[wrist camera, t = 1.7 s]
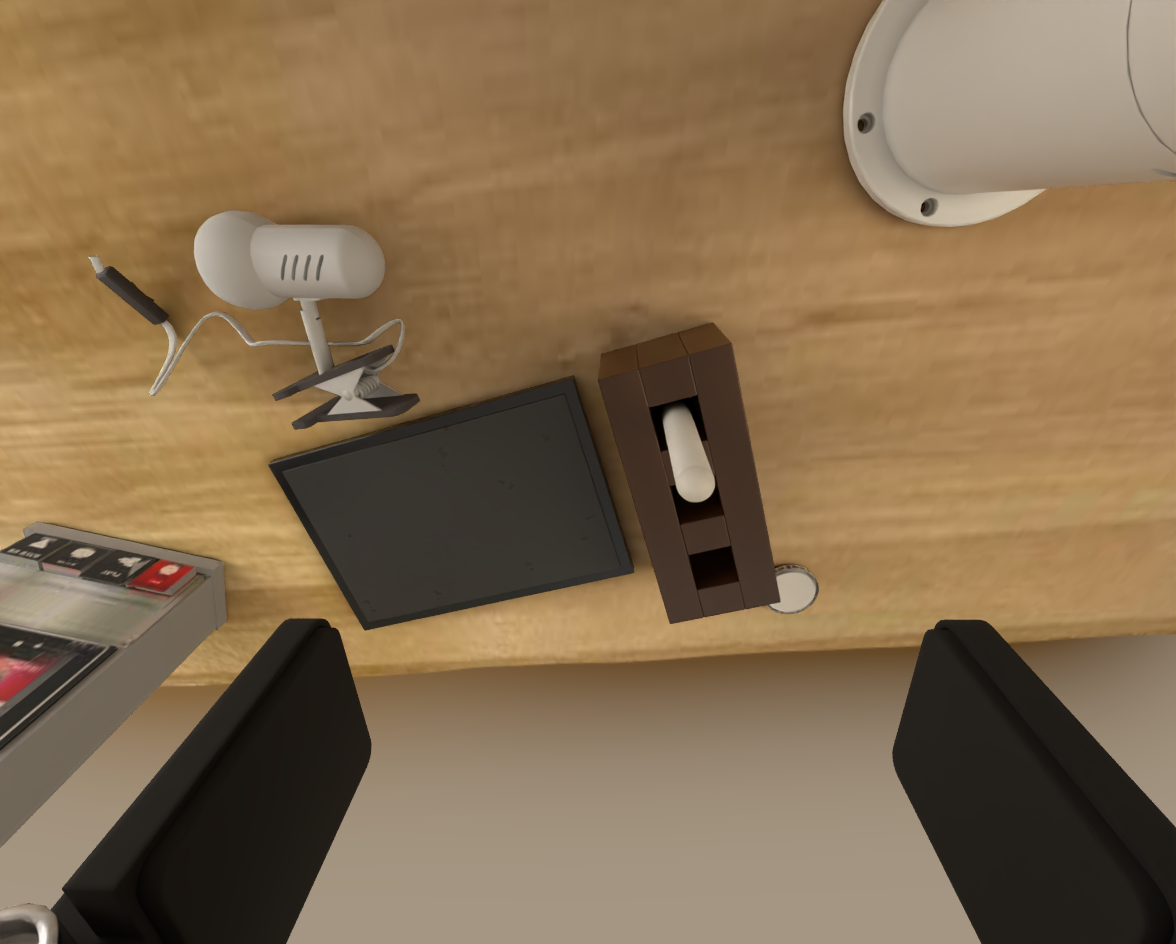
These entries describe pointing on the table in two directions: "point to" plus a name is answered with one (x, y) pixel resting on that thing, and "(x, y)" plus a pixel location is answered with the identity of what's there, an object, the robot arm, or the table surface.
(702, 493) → the stylus
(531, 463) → the tablet
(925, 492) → the table surface
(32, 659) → the upright grey box
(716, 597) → the pen rack
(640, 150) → the table surface
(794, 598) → the white flat rimmed disc
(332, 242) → the clip-on lamp
